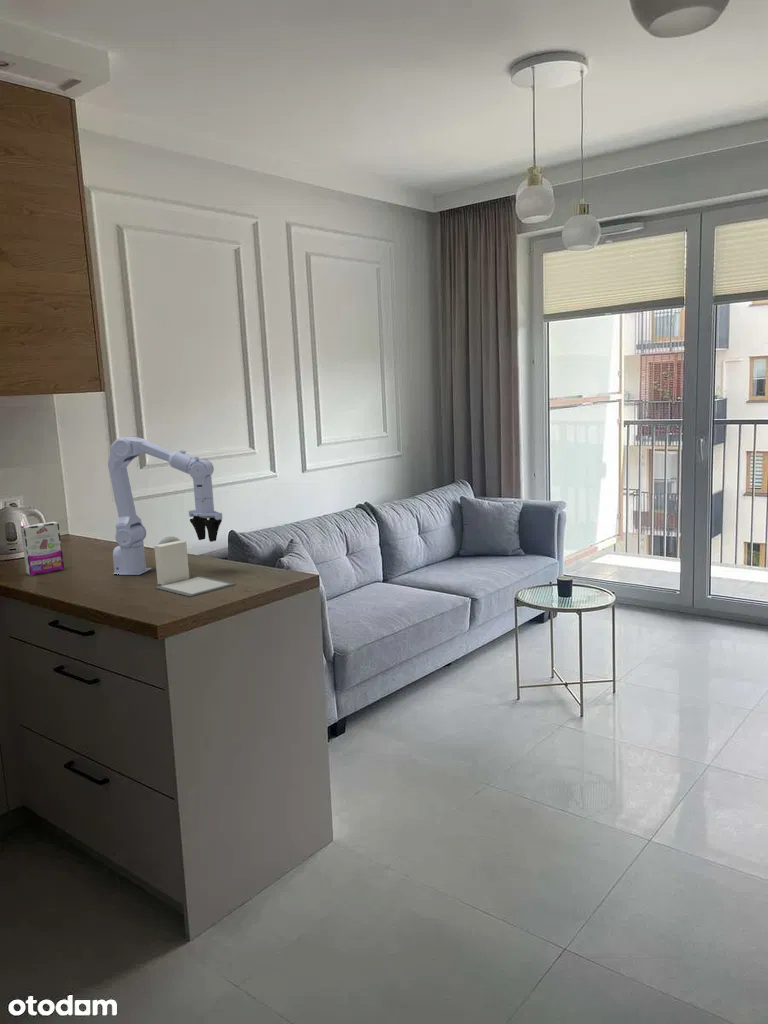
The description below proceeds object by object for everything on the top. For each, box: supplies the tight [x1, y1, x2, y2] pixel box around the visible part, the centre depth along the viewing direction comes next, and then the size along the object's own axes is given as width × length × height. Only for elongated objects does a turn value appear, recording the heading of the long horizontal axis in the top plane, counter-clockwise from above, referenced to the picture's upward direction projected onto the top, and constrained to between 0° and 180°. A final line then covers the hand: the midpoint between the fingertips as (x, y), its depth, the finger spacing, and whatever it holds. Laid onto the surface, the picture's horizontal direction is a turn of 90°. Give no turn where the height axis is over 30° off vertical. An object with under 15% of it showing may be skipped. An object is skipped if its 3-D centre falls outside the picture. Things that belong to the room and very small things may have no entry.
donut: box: [157, 536, 182, 545], centre depth 256 cm, size 10×3×10 cm, turn 136°
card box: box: [153, 539, 190, 586], centre depth 232 cm, size 4×9×12 cm, turn 138°
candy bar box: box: [20, 521, 65, 577], centre depth 254 cm, size 11×5×16 cm, turn 130°
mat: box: [154, 575, 236, 597], centre depth 226 cm, size 18×16×1 cm
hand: (207, 540), depth 242 cm, fingers open, 5 cm apart
